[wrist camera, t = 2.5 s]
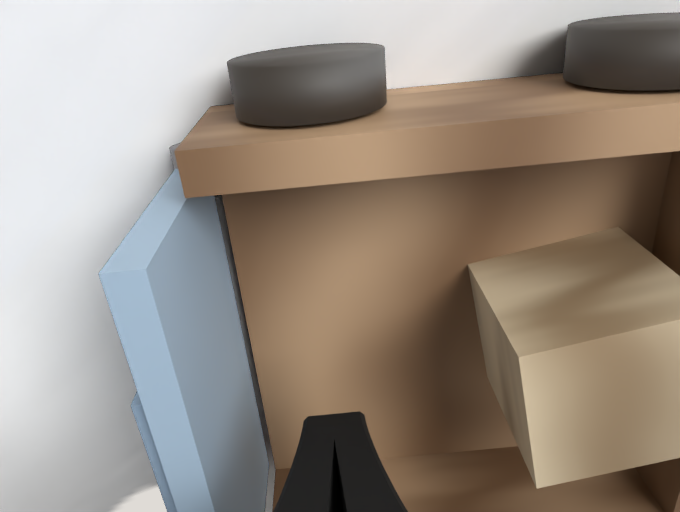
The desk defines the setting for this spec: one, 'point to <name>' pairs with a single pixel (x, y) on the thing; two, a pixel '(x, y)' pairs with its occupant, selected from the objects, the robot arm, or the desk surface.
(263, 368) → the truck bed
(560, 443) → the block
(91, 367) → the desk surface
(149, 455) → the panel
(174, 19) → the desk surface
